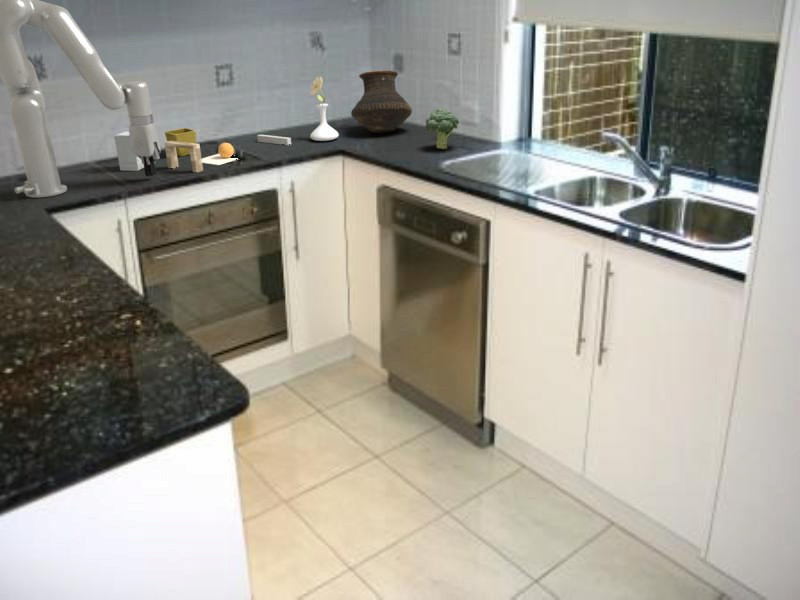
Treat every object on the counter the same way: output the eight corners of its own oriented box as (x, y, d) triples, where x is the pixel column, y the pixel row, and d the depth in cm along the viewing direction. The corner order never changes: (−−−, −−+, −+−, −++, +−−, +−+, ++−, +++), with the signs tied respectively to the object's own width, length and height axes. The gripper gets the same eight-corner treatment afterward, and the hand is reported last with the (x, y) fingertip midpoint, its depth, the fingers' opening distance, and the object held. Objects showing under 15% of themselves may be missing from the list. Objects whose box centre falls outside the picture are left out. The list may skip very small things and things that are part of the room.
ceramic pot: (352, 127, 302) (348, 68, 301) (352, 137, 326) (348, 83, 325) (415, 123, 303) (411, 65, 302) (410, 134, 328) (407, 79, 326)
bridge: (196, 172, 270) (192, 145, 267) (168, 168, 278) (164, 142, 274) (203, 170, 272) (199, 144, 269) (174, 166, 280) (170, 140, 276)
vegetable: (451, 143, 295) (450, 103, 289) (464, 150, 284) (464, 108, 278) (421, 147, 292) (420, 106, 286) (433, 154, 281) (432, 112, 275)
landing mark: (218, 165, 279) (218, 164, 279) (193, 161, 286) (193, 161, 286) (244, 157, 289) (244, 156, 289) (219, 154, 296) (219, 153, 295)
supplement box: (138, 171, 276) (132, 135, 271) (119, 170, 277) (113, 135, 272) (149, 166, 283) (142, 131, 278) (130, 165, 284) (124, 131, 279)
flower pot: (178, 158, 292) (174, 134, 288) (167, 155, 298) (164, 131, 294) (199, 154, 297) (196, 130, 293) (188, 151, 303) (185, 127, 299)
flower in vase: (310, 137, 316) (304, 74, 306) (338, 136, 317) (333, 72, 307) (310, 144, 304) (304, 78, 294) (339, 142, 305) (335, 76, 295)
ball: (224, 157, 284) (227, 142, 284) (213, 156, 287) (216, 140, 287) (235, 160, 289) (238, 145, 288) (225, 158, 292) (227, 143, 291)
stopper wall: (287, 145, 305) (287, 138, 304) (257, 141, 313) (257, 135, 312) (291, 144, 306) (290, 137, 305) (261, 140, 315) (260, 134, 314)
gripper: (117, 120, 257) (127, 175, 265) (147, 124, 249) (156, 180, 257) (136, 116, 263) (145, 170, 270) (165, 120, 255) (174, 175, 262)
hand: (150, 175), depth 263 cm, fingers closed
